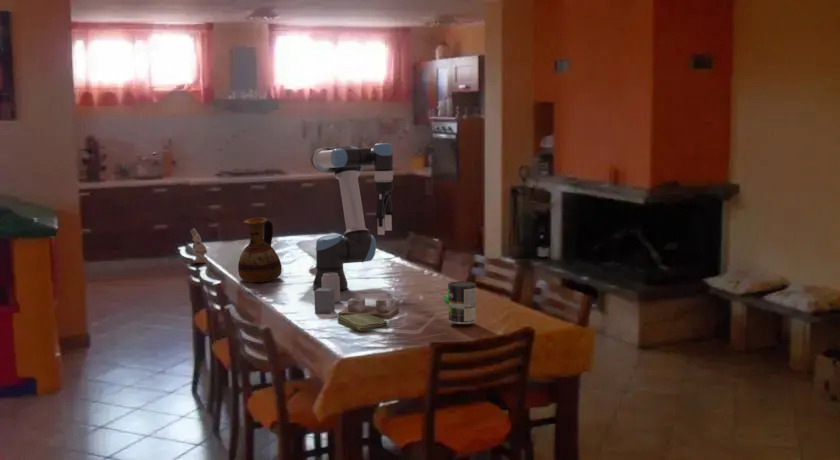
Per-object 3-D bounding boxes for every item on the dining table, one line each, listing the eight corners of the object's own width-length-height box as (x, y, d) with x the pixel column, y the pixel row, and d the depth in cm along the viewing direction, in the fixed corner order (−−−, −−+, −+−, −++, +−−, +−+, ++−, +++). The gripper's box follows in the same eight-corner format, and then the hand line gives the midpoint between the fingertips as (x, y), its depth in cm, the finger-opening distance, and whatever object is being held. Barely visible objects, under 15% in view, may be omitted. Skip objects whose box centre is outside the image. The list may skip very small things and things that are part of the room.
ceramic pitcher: (230, 283, 432) (227, 219, 428) (253, 276, 450) (251, 214, 447) (267, 286, 424) (265, 220, 421) (289, 278, 443) (287, 215, 439)
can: (343, 300, 389) (342, 272, 387) (335, 304, 382) (334, 275, 380) (326, 300, 391) (325, 271, 390) (318, 303, 384) (318, 274, 382)
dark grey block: (315, 313, 365) (314, 290, 364) (320, 310, 371) (319, 287, 370) (329, 314, 363) (329, 291, 362) (334, 310, 369) (334, 288, 368)
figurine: (189, 266, 483) (187, 228, 481) (205, 264, 488) (203, 226, 486) (196, 268, 476) (194, 229, 474) (212, 266, 481) (210, 228, 478)
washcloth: (359, 332, 334) (359, 323, 334) (335, 323, 348) (334, 315, 348) (390, 327, 341) (390, 318, 341) (365, 319, 356) (365, 310, 355)
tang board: (338, 316, 358) (338, 302, 358) (349, 309, 372) (349, 295, 371) (388, 318, 354) (388, 304, 353) (398, 311, 367) (398, 297, 366)
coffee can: (450, 324, 342) (449, 286, 341) (446, 318, 353) (446, 281, 351) (478, 323, 343) (477, 285, 342) (474, 317, 353) (473, 280, 352)
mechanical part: (465, 304, 379) (465, 285, 378) (450, 305, 378) (450, 285, 377) (458, 299, 390) (458, 280, 389) (444, 299, 389) (444, 280, 388)
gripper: (386, 183, 372) (387, 236, 374) (399, 179, 396) (399, 228, 398) (367, 183, 373) (368, 236, 375) (381, 179, 397) (382, 228, 400)
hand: (384, 232), depth 387 cm, fingers open, 13 cm apart
